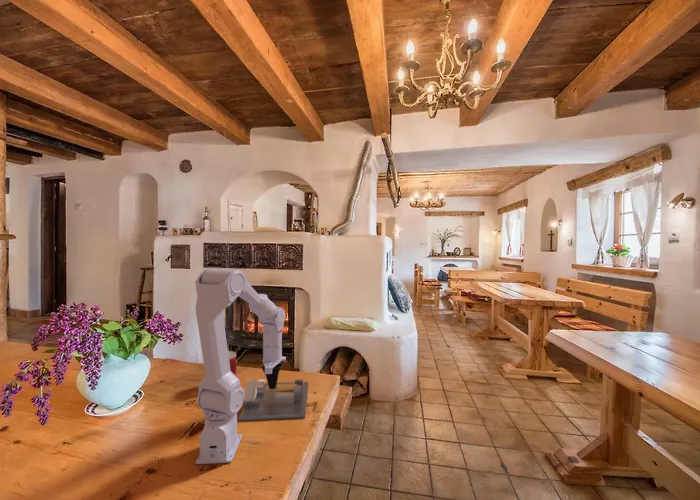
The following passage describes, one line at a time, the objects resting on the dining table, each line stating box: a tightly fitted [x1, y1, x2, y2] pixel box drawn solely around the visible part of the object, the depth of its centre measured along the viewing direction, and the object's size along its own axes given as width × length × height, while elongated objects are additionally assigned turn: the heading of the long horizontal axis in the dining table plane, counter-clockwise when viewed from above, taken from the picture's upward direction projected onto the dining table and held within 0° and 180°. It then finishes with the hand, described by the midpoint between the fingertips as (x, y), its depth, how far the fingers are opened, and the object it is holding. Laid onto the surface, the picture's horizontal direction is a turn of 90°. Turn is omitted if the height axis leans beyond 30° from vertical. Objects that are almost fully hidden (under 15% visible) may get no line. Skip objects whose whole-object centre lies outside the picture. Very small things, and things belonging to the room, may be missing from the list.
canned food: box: [228, 350, 237, 377], centre depth 105 cm, size 8×8×11 cm
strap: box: [265, 383, 300, 392], centre depth 94 cm, size 3×10×1 cm, turn 95°
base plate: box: [238, 378, 309, 422], centre depth 94 cm, size 20×19×6 cm
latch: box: [244, 378, 267, 402], centre depth 93 cm, size 5×5×5 cm
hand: (272, 386), depth 93 cm, fingers closed
